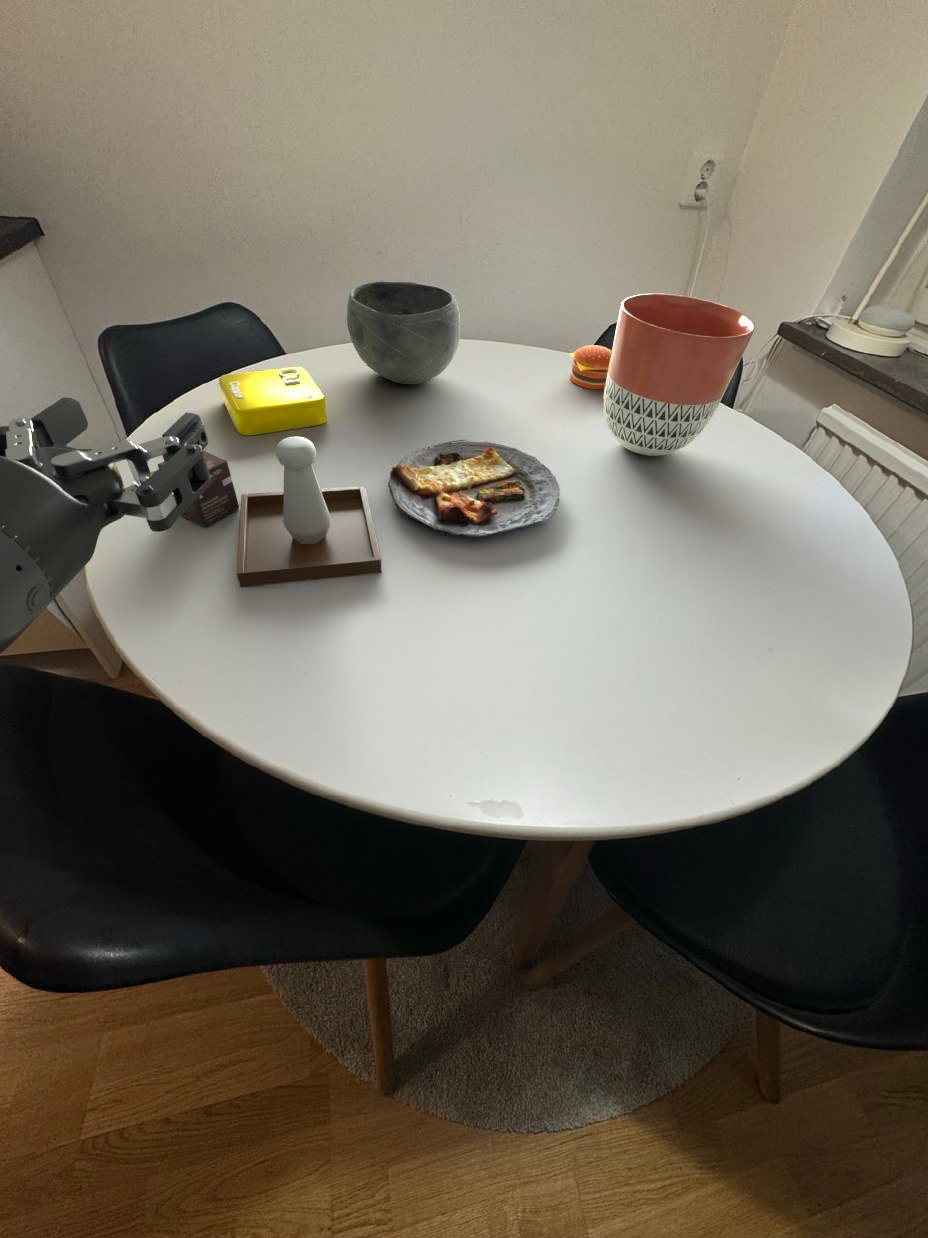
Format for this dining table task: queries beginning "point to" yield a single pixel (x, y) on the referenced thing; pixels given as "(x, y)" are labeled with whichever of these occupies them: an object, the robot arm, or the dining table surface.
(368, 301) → the bowl
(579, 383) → the hamburger
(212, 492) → the box
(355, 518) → the tray
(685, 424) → the planter
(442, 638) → the dining table surface
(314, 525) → the salt shaker
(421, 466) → the food plate
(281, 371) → the element tile
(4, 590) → the robot arm
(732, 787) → the dining table surface
